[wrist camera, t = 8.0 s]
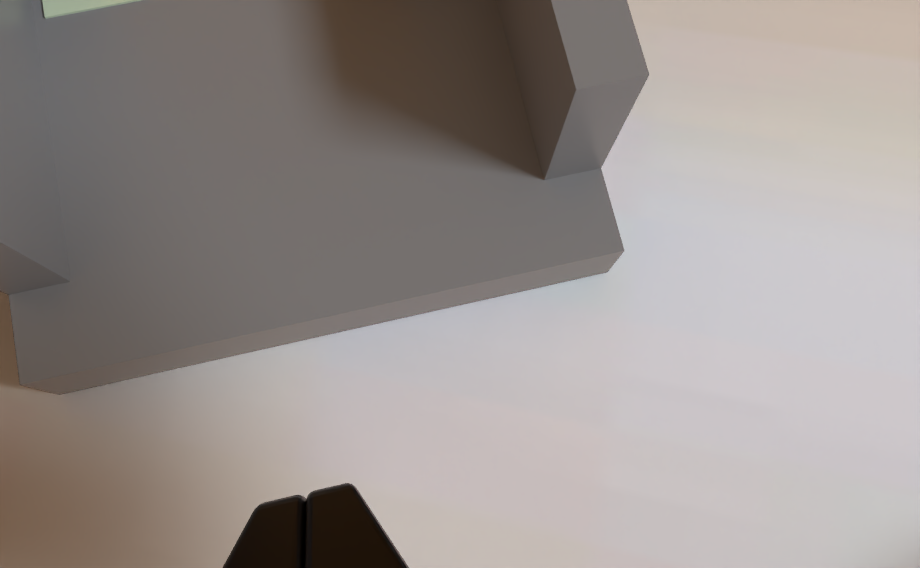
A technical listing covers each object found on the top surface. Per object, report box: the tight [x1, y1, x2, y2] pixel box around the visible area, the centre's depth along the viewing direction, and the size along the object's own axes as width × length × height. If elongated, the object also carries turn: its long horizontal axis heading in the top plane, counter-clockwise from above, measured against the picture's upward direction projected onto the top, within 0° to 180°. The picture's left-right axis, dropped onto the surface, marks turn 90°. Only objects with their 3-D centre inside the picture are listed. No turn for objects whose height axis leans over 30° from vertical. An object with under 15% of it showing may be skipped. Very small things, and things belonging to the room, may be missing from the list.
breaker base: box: [0, 0, 649, 395], centre depth 14 cm, size 10×10×5 cm
